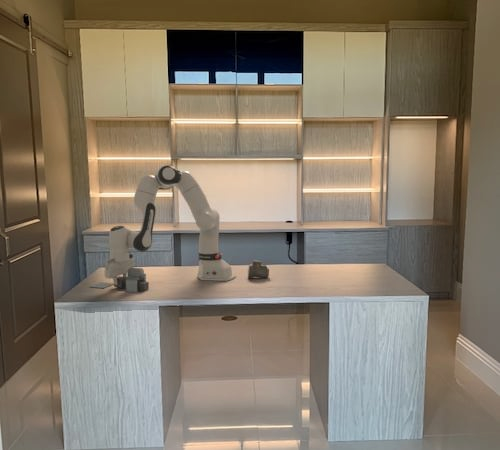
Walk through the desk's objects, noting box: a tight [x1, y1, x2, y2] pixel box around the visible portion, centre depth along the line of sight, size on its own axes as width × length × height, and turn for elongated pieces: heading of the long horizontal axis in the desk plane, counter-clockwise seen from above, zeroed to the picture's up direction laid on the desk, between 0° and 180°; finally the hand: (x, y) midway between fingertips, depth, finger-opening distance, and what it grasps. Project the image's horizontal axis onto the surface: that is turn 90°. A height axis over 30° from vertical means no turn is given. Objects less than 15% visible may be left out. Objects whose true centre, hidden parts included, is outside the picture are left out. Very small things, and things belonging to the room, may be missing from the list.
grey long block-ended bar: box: [112, 275, 150, 292], centre depth 231 cm, size 20×4×4 cm, turn 69°
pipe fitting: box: [247, 260, 270, 279], centre depth 251 cm, size 12×8×10 cm
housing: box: [125, 266, 147, 293], centre depth 230 cm, size 6×9×12 cm, turn 159°
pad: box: [89, 282, 114, 290], centre depth 238 cm, size 9×9×1 cm
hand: (120, 282), depth 234 cm, fingers closed on grey long block-ended bar, 4 cm apart
